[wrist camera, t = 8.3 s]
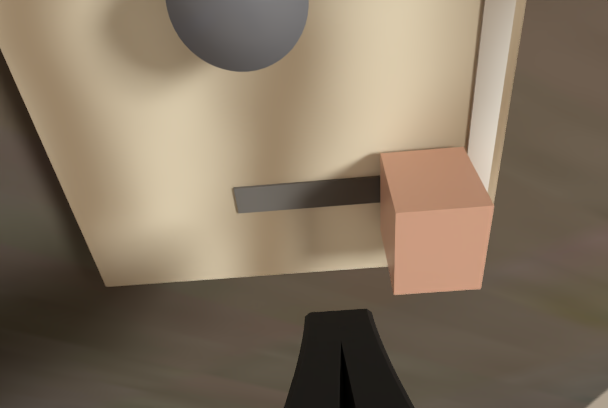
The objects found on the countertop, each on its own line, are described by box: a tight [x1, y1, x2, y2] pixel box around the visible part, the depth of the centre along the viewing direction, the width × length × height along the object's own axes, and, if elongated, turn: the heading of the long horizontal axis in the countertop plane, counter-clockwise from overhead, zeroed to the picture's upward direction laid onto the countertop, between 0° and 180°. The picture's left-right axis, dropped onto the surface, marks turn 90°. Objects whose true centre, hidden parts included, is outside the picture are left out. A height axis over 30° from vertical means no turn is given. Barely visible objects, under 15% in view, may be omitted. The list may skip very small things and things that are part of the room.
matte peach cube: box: [380, 147, 494, 295], centre depth 15 cm, size 2×3×3 cm
